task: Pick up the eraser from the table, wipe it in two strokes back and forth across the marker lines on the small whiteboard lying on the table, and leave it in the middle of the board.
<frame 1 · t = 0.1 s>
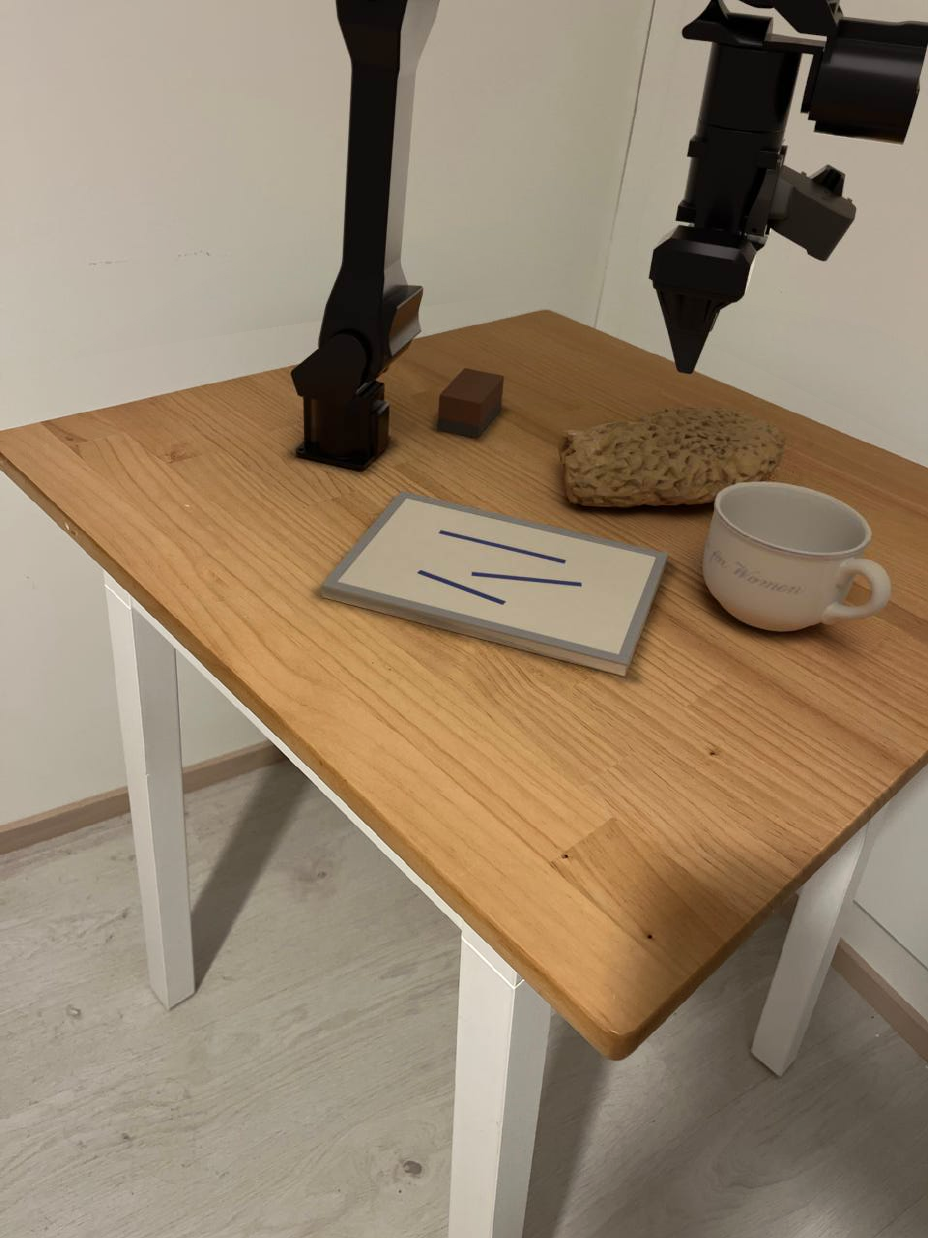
hand: (695, 350, 79), 15 cm above the table, tool pointing down, fingers open, 9 cm apart
teacup: (779, 620, 78), on the table
eraser: (469, 419, 101), on the table
whiteboard: (501, 580, 79), on the table
sponge: (669, 490, 93), on the table
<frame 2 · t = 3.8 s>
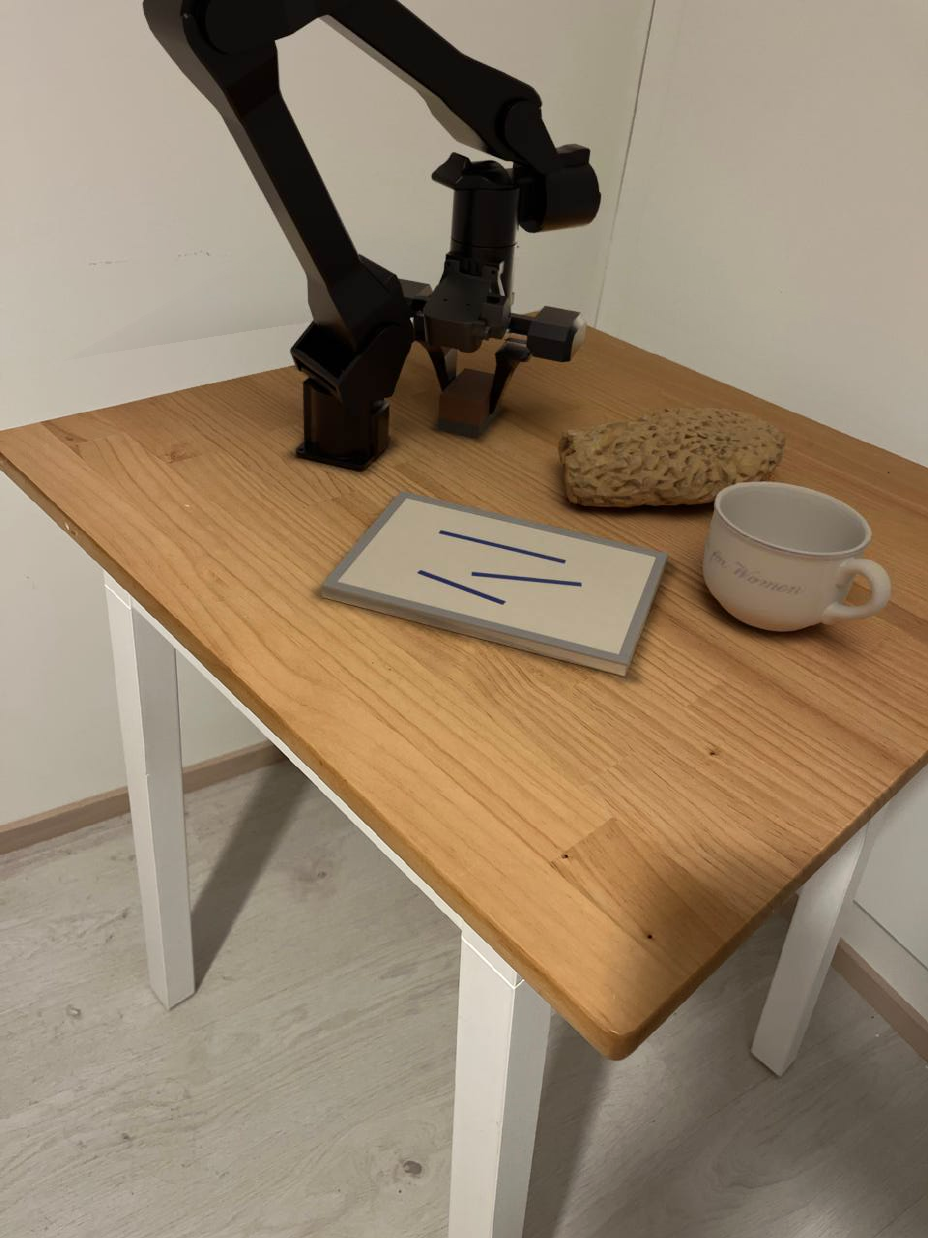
hand: (470, 407, 100), 1 cm above the table, tool pointing down, fingers closed on eraser, 4 cm apart
eraser: (469, 419, 101), on the table, touching gripper
everything else where it was.
when the fingers open (2 cm above the table, at t = 15.2 s): eraser stays where it is, resting on whiteboard.
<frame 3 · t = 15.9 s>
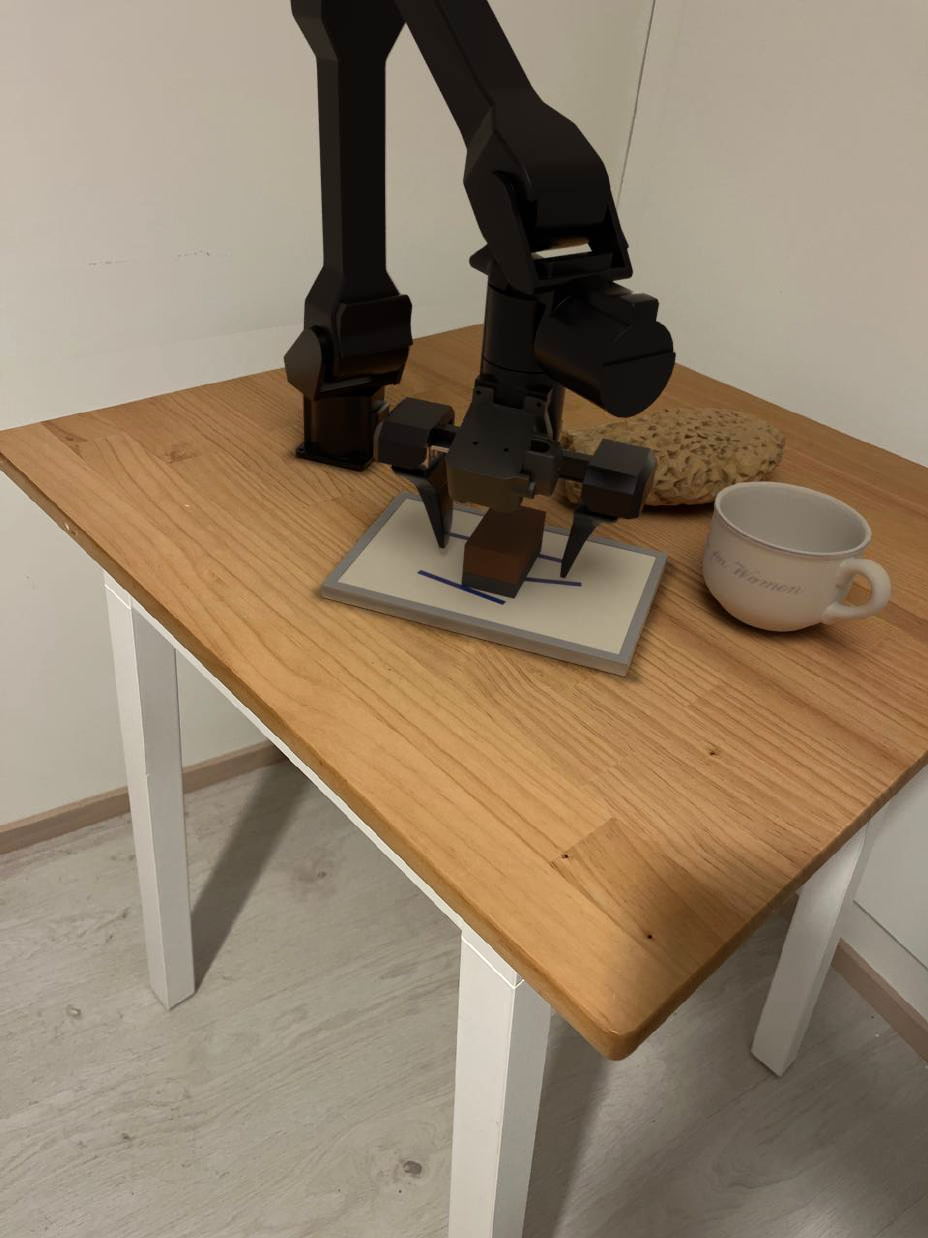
hand: (503, 560, 78), 2 cm above the table, tool pointing down, fingers open, 9 cm apart
eraser: (502, 568, 79), point 1 cm above the table, touching whiteboard
everything else where it was.
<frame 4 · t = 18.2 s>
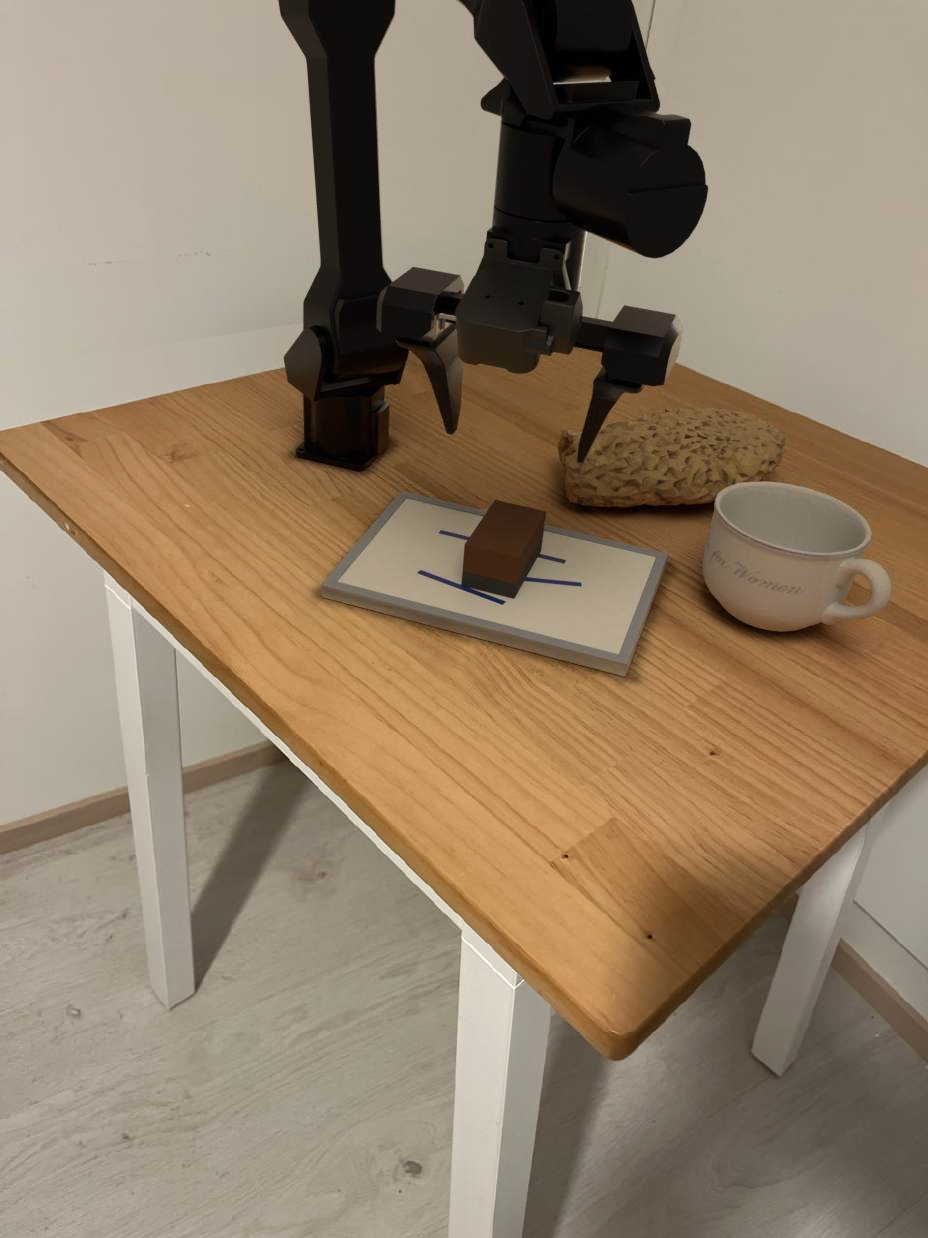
hand: (515, 446, 73), 11 cm above the table, tool pointing down, fingers open, 9 cm apart
nothing on the table moved.
at the end: eraser inside the target area on the whiteboard (0.1 cm from its centre), point 1.0 cm above the whiteboard's base; eraser moved 27.2 cm from its start; the gripper is holding nothing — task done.
